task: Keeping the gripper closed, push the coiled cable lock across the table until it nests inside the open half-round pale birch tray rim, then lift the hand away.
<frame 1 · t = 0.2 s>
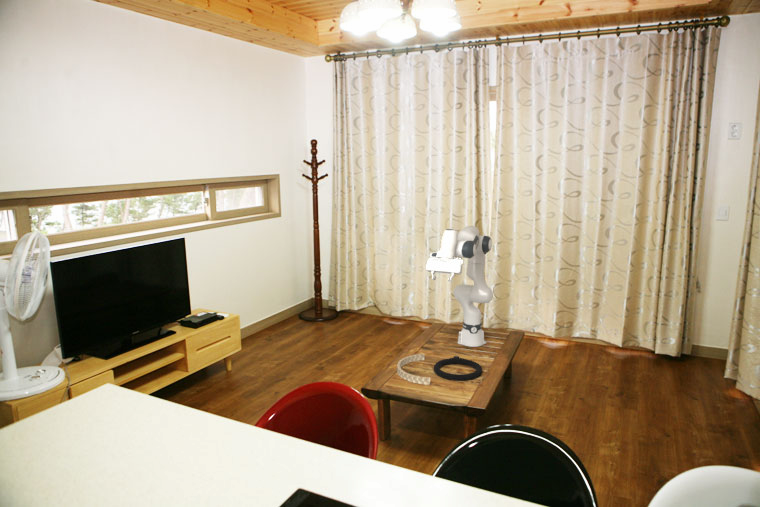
hand: (441, 280, 283), 54 cm above the table, tool tilted 30°, fingers open, 8 cm apart
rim: (412, 368, 296), on the table
cable lock: (457, 371, 297), on the table
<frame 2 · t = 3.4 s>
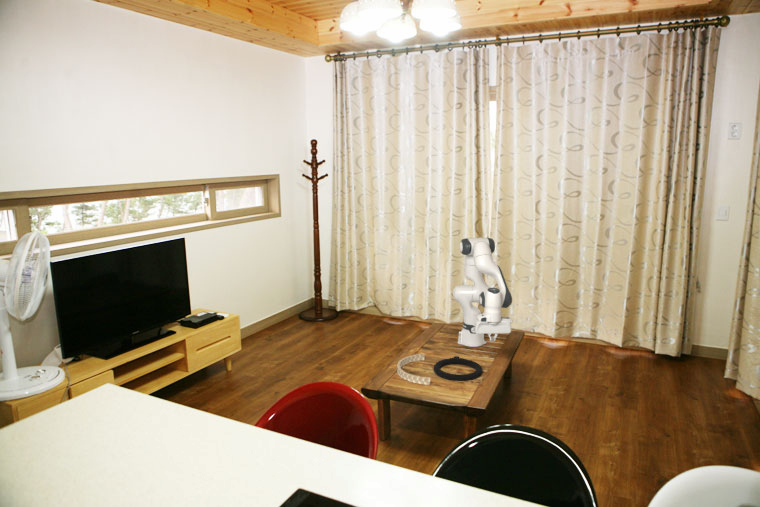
hand: (492, 340, 293), 18 cm above the table, tool pointing down, fingers closed
nothing on the table moved.
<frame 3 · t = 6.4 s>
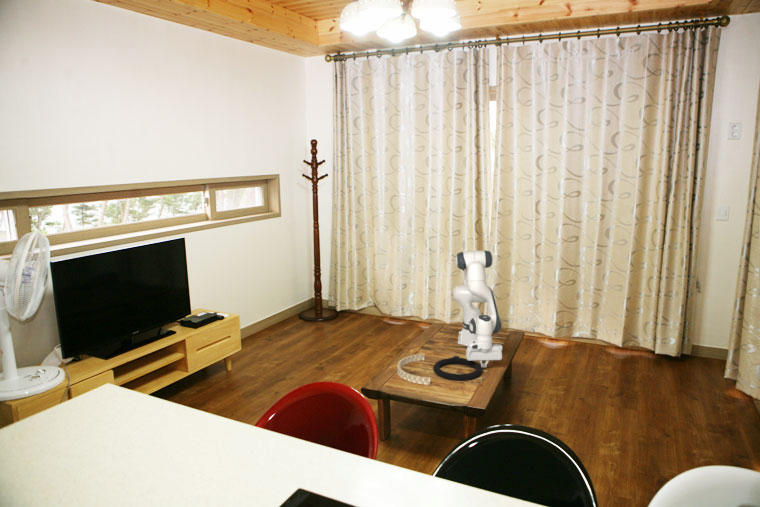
hand: (483, 367, 296), 2 cm above the table, tool pointing down, fingers closed
cable lock: (457, 371, 296), on the table, touching gripper
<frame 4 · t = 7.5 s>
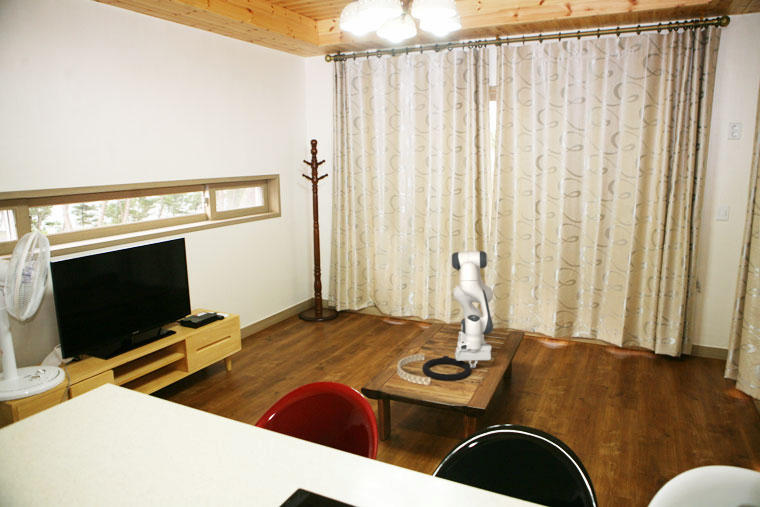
hand: (472, 367, 296), 2 cm above the table, tool pointing down, fingers closed
cable lock: (446, 371, 296), on the table, touching gripper
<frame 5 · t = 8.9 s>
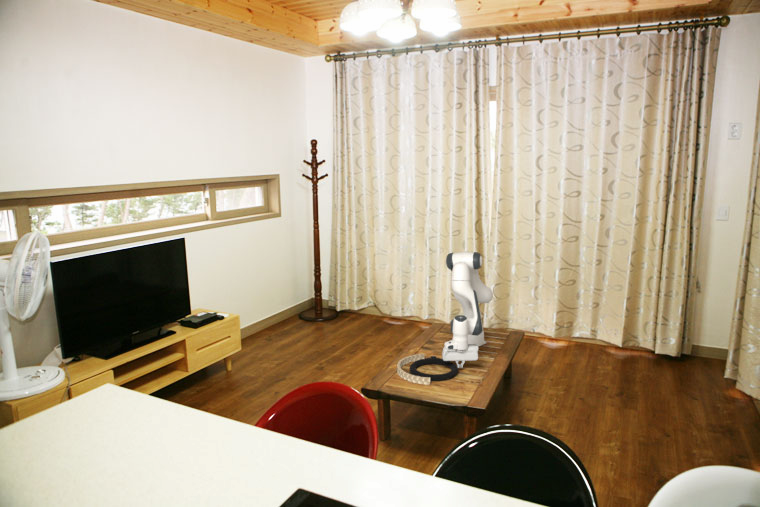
hand: (459, 367, 296), 2 cm above the table, tool pointing down, fingers closed
cable lock: (433, 371, 296), on the table, touching gripper
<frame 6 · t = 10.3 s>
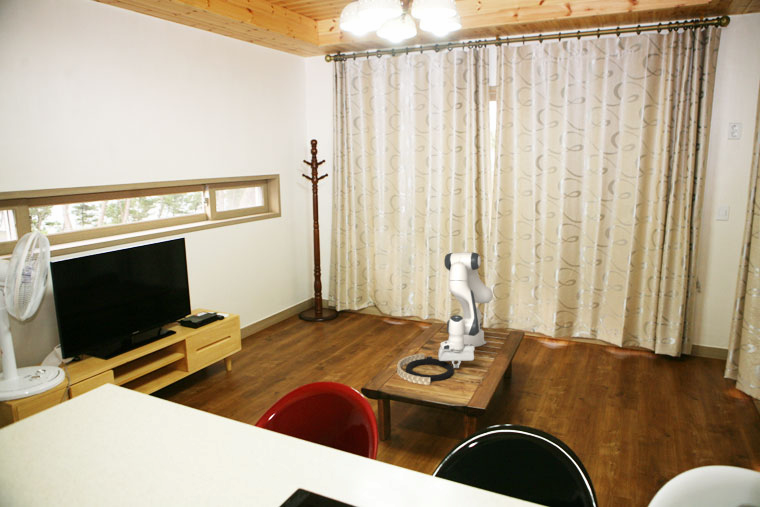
hand: (455, 367, 296), 2 cm above the table, tool pointing down, fingers closed
cable lock: (429, 372, 296), on the table, touching gripper
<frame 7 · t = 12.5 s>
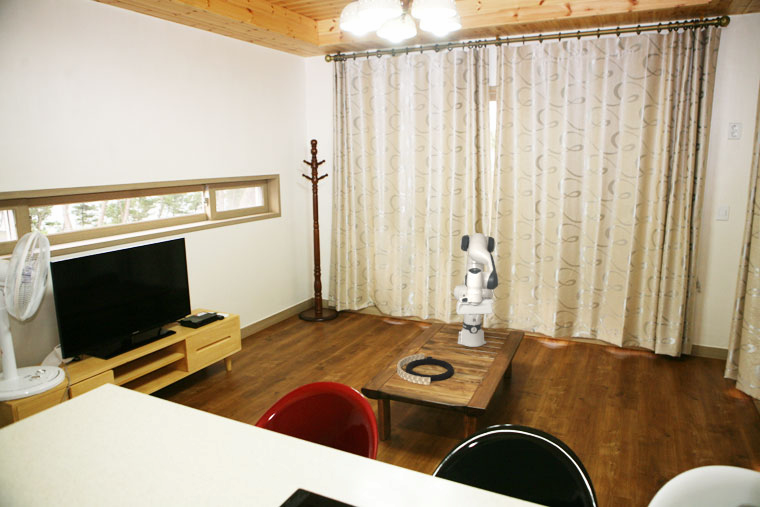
hand: (473, 321, 292), 29 cm above the table, tool pointing down, fingers closed
cable lock: (429, 372, 296), on the table
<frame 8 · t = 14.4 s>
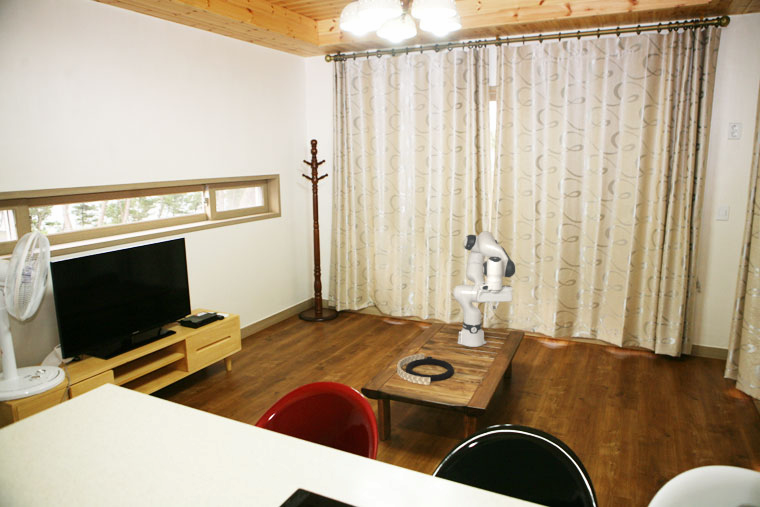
hand: (493, 309, 298), 34 cm above the table, tool pointing down, fingers closed
nothing on the table moved.
at the end: cable lock 0.1 cm from the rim (horizontally); cable lock moved 16.0 cm from its start; cable lock touching table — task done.
